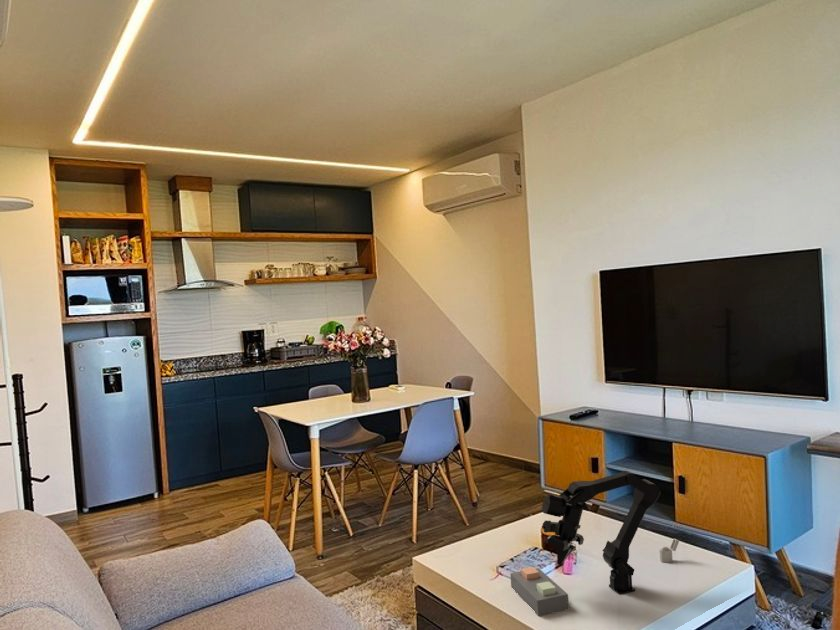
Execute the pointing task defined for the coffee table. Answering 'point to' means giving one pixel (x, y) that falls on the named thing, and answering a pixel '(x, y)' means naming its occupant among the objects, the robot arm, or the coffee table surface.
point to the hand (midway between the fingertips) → (559, 564)
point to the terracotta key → (529, 573)
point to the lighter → (668, 552)
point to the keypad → (534, 598)
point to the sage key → (546, 588)
